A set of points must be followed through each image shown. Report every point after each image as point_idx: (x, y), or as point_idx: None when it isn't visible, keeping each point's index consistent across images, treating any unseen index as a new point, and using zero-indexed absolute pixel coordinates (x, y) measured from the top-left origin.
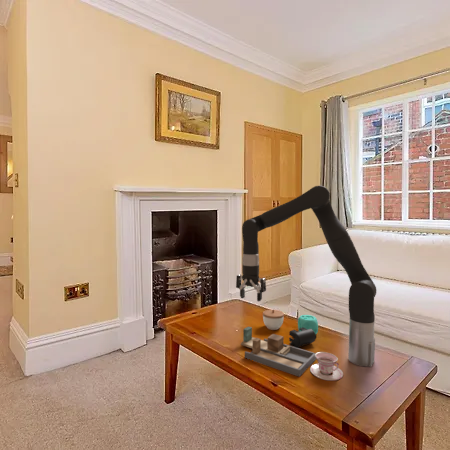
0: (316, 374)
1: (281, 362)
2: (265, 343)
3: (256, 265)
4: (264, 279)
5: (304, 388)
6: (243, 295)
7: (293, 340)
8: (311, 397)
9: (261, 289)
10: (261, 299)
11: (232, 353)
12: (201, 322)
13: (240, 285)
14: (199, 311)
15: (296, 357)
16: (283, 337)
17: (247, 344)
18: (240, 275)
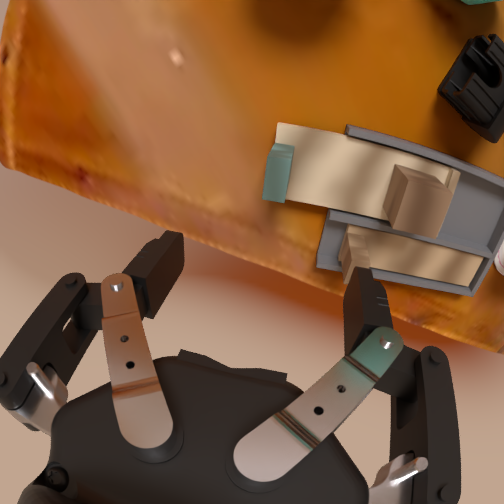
0: (502, 261)
1: (433, 271)
2: (363, 161)
3: None
4: (441, 501)
5: (468, 317)
6: (174, 262)
7: (463, 109)
8: (473, 333)
9: (397, 408)
10: (380, 284)
11: (267, 244)
12: (48, 92)
13: (84, 309)
14: (8, 35)
15: (470, 203)
16: (451, 193)
17: (298, 199)
18: (30, 423)
